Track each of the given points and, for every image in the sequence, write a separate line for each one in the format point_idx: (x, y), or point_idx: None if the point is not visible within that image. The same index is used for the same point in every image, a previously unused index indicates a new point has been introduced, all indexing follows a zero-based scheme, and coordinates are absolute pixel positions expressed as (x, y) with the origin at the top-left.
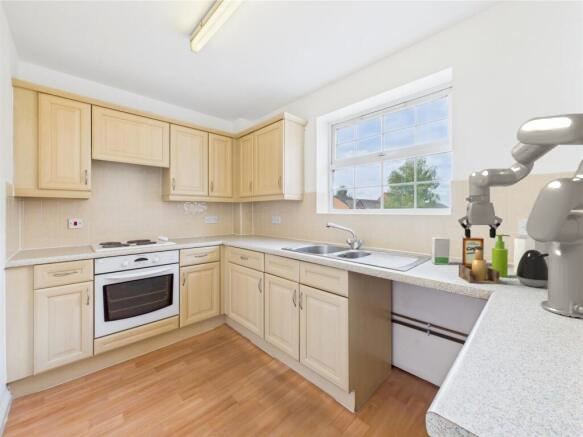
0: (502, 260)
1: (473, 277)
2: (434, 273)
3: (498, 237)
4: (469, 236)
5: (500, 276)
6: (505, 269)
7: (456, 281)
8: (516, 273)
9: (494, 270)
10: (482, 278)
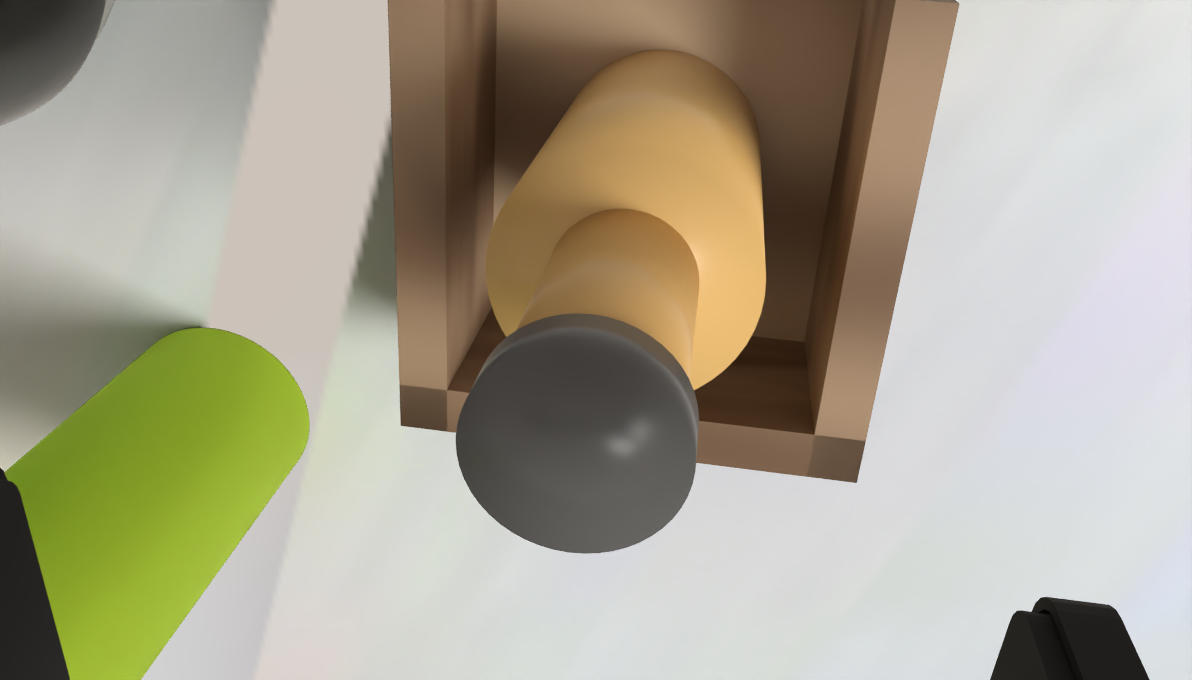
0: (71, 472)
1: (759, 140)
2: (1124, 541)
3: None
4: (1110, 654)
5: (239, 341)
6: (116, 388)
7: (1088, 65)
8: (81, 42)
9: (434, 50)
10: (653, 59)
